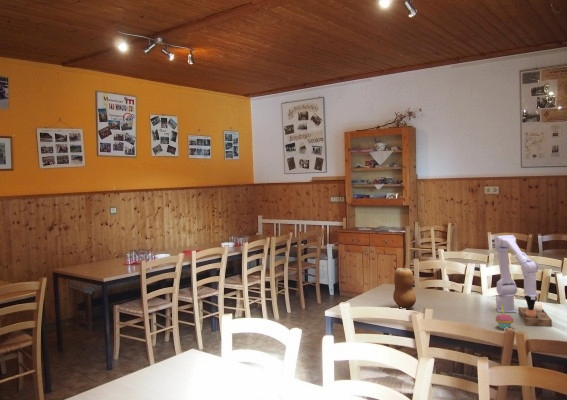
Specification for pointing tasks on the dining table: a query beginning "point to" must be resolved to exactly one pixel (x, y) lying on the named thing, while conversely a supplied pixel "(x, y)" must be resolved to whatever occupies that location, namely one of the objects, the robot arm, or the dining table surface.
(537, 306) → the cream button
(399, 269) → the butternut squash
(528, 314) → the terracotta button
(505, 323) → the cupcake
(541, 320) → the wooden compartment tray
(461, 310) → the dining table surface
